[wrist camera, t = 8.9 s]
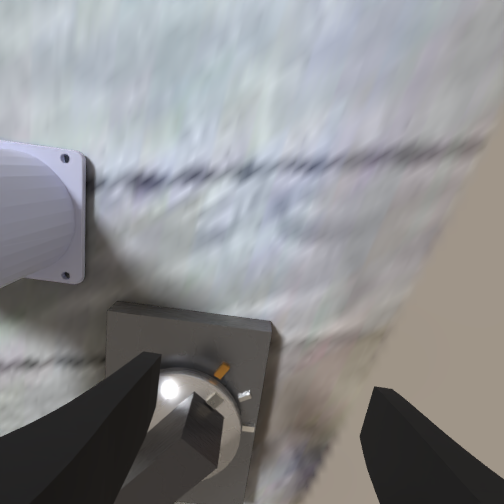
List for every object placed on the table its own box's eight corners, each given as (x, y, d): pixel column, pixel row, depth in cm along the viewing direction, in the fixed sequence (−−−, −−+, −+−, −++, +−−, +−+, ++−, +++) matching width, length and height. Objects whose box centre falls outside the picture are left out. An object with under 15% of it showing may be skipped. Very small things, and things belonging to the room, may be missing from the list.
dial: (183, 490, 22) (166, 566, 18) (92, 420, 21) (50, 483, 17) (266, 423, 21) (269, 488, 17) (174, 343, 20) (152, 391, 15)
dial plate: (111, 473, 24) (100, 495, 23) (117, 301, 21) (105, 312, 19) (243, 489, 24) (242, 511, 23) (270, 321, 21) (271, 333, 19)
